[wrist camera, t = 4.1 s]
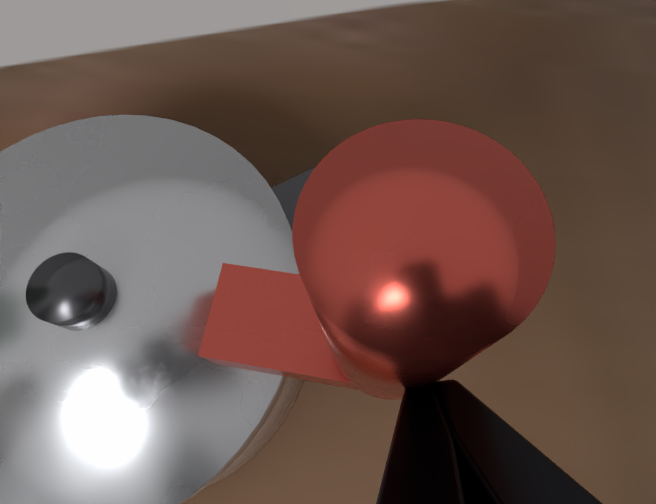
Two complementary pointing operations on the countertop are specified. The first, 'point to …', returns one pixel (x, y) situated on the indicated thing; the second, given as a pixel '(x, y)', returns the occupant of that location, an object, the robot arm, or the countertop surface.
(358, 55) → the countertop surface
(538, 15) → the countertop surface
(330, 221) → the lid
